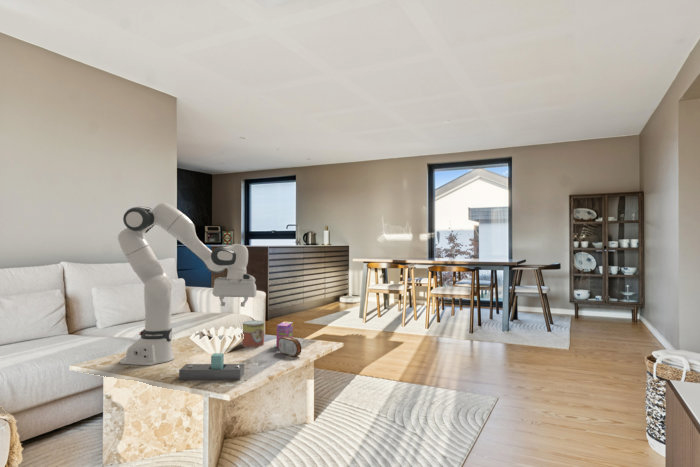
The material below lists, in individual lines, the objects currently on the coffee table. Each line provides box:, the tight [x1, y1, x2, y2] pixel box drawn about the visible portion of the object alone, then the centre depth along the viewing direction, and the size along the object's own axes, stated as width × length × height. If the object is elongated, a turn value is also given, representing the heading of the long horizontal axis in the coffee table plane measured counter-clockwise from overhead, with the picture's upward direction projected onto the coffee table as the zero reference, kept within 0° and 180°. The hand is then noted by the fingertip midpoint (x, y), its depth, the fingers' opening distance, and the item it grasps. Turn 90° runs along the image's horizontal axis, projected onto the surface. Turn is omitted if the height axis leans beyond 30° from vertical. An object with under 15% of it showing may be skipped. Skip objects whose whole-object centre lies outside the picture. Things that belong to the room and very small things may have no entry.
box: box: [275, 321, 294, 349], centre depth 224 cm, size 10×6×12 cm, turn 168°
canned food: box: [242, 319, 265, 348], centre depth 225 cm, size 11×11×12 cm
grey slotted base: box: [178, 363, 245, 381], centre depth 172 cm, size 24×8×4 cm, turn 93°
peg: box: [210, 352, 225, 369], centre depth 172 cm, size 4×4×9 cm
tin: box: [278, 336, 302, 357], centre depth 206 cm, size 15×3×8 cm, turn 48°
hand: (232, 306), depth 196 cm, fingers open, 8 cm apart
